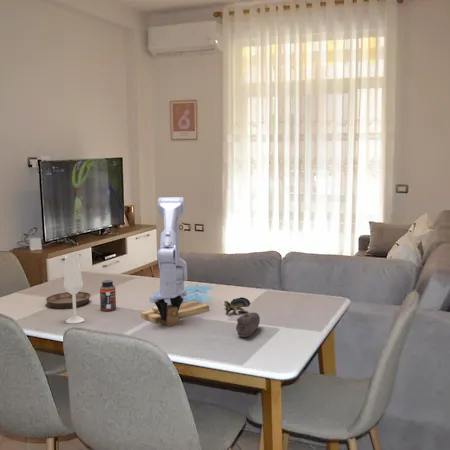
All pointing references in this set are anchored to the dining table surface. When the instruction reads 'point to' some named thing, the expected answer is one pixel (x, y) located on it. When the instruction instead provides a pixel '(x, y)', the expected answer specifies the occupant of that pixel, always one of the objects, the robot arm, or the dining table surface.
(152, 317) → the board
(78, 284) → the champagne flute
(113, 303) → the supplement bottle
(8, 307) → the dining table surface
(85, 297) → the plant saucer
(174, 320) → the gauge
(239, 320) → the perforated stone tool
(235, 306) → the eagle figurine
